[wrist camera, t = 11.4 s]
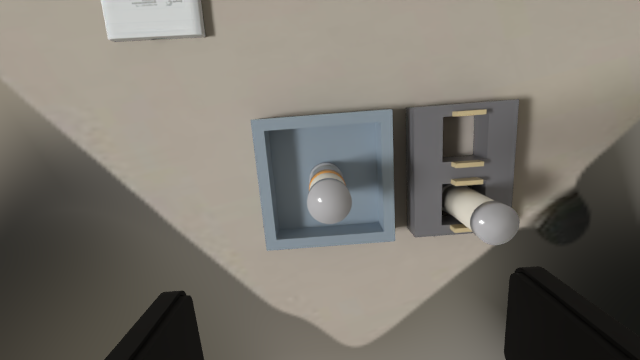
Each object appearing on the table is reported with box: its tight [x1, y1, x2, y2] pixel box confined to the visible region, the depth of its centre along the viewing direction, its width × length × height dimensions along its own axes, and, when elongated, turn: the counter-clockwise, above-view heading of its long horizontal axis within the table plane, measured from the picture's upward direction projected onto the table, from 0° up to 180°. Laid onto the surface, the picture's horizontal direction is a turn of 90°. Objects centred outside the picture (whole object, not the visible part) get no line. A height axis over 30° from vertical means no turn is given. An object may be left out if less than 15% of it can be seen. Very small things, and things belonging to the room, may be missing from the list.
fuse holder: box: [406, 99, 519, 237], centre depth 28 cm, size 9×12×4 cm
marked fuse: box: [307, 162, 352, 224], centre depth 25 cm, size 3×3×8 cm
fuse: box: [442, 184, 519, 245], centre depth 27 cm, size 3×3×8 cm
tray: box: [251, 109, 395, 251], centre depth 28 cm, size 12×12×3 cm
